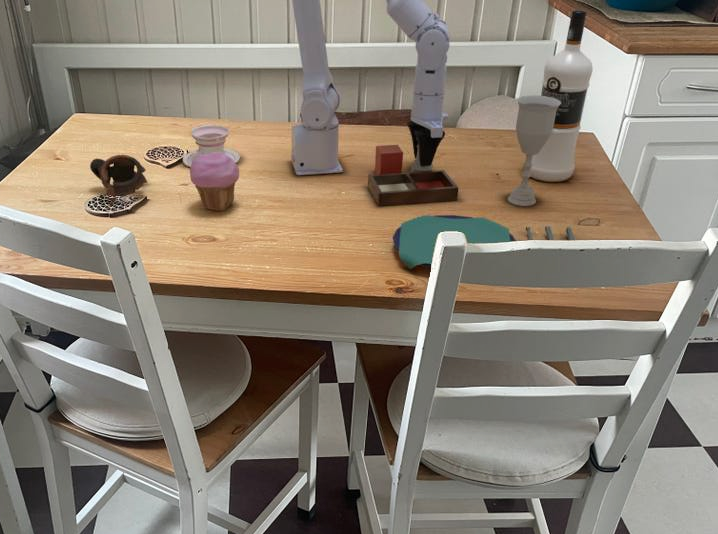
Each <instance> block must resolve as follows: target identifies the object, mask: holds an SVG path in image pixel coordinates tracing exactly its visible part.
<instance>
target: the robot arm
mask: <svg viewBox="0 0 718 534" xmlns="http://www.w3.org/2000/svg"><path fill="white" fill-rule="evenodd" d="M385 1H386V14H387V15H388V16H389V17H390V18H391V19H392V20H393V21H394V23H395V24H396V25H397V26H398V27H399V29H401V30H402V32H403V33H404V34H405V35H406V37H408V39H409V40H411V41H414V42H415V51H416V53H417V61H416V65H415V70H414V82H413V95H412V104H411V112H410V120H409V121H407V122H406V125H407V128H408V130H409V133H410V136H411V142H412V150H413V156H414V160H416V157H417V152H418V147H419V161H420V165H421V166H431V164H432V165H433V162H434V158H435V156H436V152H437V151H438V148H439V145H440V143H441V142H442V141H443V139H444V138H445V136H446V131H444V126H443V121H445V120H448V119H449V114H447V112H443V110H444V109H443V108H444V100H445V90H446V79H447V71H448V69H447V68H448V67H447V62H448V55H447V54H448V51H449V49H450V38H451V33H450V30H449V27H448V25H447V24H446V21H445V20H443V19H440V15H439V13H438V12H435V13H434V12H433V11H432V10H431V9H430V7H429V6H428V5H427V4H426V3H425V1H424V0H385ZM291 2H292V9H293V15H294V21H295V29H296V35H297V36H296V37H297V42H298V48H299V55H300V62H301V67H302V74H303V79H302V89H301V91H302V103H301V106H300V117H301V119H302V121H301V123H299V124H295V125H292V126H291V164H292V167H293V169H294V172H295V174H296V176H306V175H308V176H309V175H322V174H323V175H324V174H339V173H343V172H344V169H343V167H342V165H341V163H340V162H339V137H340V136H339V134H340V132H339V129H340V128H339V127H340V124H339V123H340V121H339V118H337V115H336V114H335V113H336V111H337V110H338V108H339V106H340V104H341V96H340V93H339V91H338V89H337V88H336V87H335V85H334V79H333V75H332V73H331V71H330V67H329V60H328V52H327V45H326V35H325V29H324V21H323V14H322V8H321V6H322V5H321V0H291ZM417 145H418V147H417Z"/></svg>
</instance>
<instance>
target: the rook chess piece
mask: <svg viewBox="0 0 718 534" xmlns="http://www.w3.org/2000/svg"><path fill="white" fill-rule="evenodd" d="M417 147H418V145H417ZM433 169H434V164H433V163H432V164H431V166H421V165H420V161H419V147H418V152H417V157H416V159H414V161H413V163H412V164H411V169H410V172H422V171H434V170H433Z"/></svg>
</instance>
